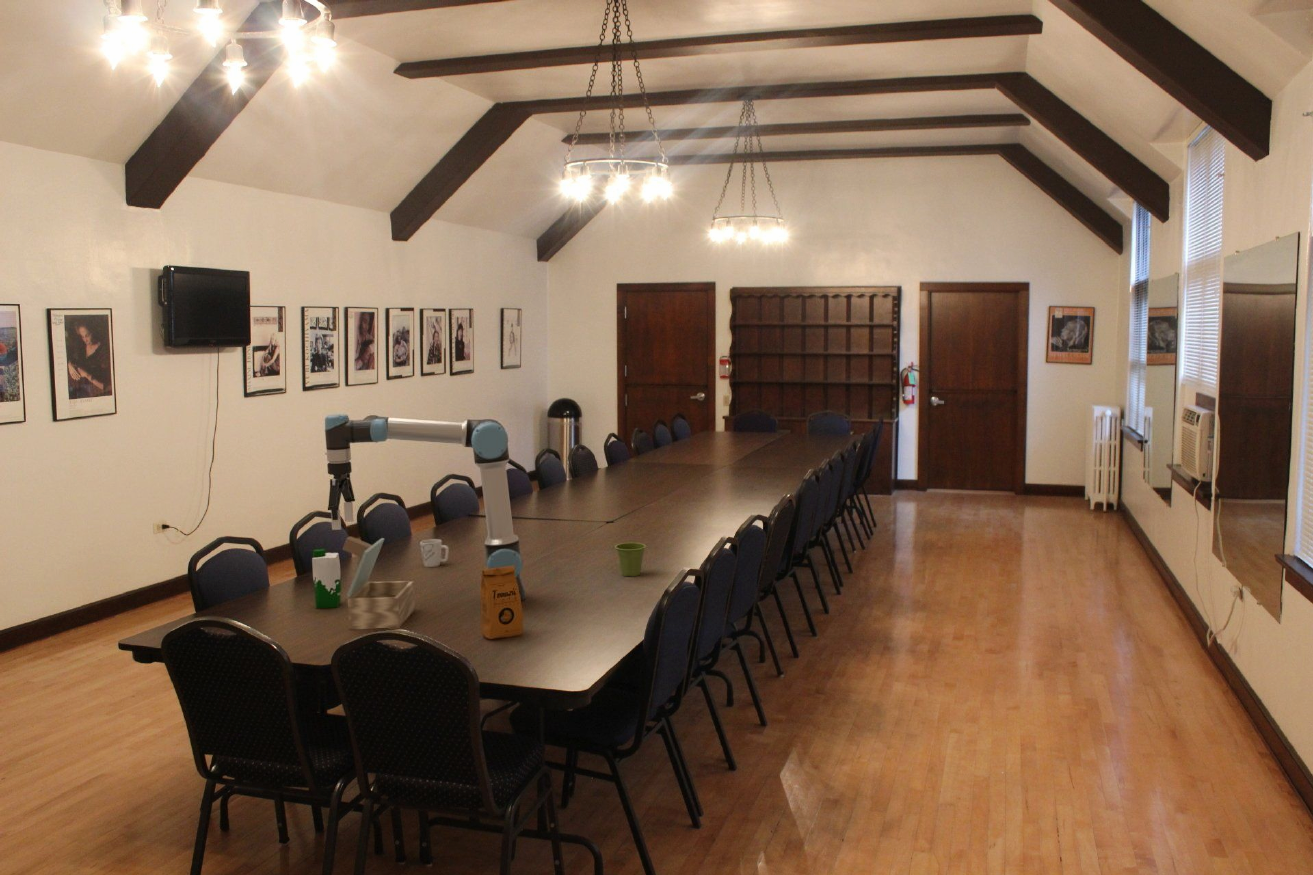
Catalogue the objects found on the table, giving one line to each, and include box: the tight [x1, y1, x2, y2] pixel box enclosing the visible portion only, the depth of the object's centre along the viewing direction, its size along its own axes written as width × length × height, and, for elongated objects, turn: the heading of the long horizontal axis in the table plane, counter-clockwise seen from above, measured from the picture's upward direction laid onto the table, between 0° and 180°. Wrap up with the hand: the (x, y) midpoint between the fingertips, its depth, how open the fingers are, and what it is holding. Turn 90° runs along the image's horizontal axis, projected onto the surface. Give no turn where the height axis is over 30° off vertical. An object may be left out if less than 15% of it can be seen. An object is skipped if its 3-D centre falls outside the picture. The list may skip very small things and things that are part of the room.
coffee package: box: [479, 566, 524, 640], centre depth 327 cm, size 10×12×22 cm
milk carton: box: [311, 548, 342, 610], centre depth 366 cm, size 9×9×20 cm
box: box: [347, 580, 416, 630], centre depth 348 cm, size 16×22×10 cm
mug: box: [419, 538, 450, 568], centre depth 424 cm, size 11×8×10 cm
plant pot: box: [614, 542, 647, 577], centre depth 402 cm, size 12×12×11 cm
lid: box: [342, 536, 385, 598], centre depth 347 cm, size 16×21×10 cm
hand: (343, 525), depth 345 cm, fingers open, 13 cm apart
